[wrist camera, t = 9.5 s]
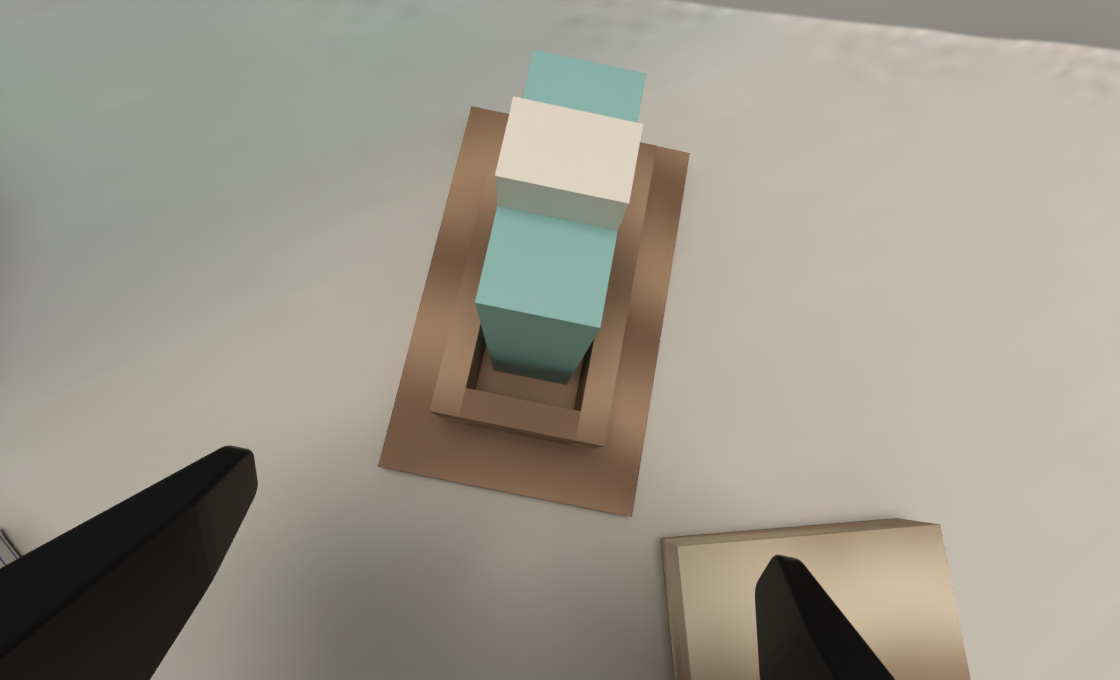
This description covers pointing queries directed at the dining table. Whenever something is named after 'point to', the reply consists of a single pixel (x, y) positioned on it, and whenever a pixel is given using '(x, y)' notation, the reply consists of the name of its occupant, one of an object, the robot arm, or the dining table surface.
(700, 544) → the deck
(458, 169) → the tray
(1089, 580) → the dining table surface
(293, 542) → the dining table surface
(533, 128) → the teal rectangular box
